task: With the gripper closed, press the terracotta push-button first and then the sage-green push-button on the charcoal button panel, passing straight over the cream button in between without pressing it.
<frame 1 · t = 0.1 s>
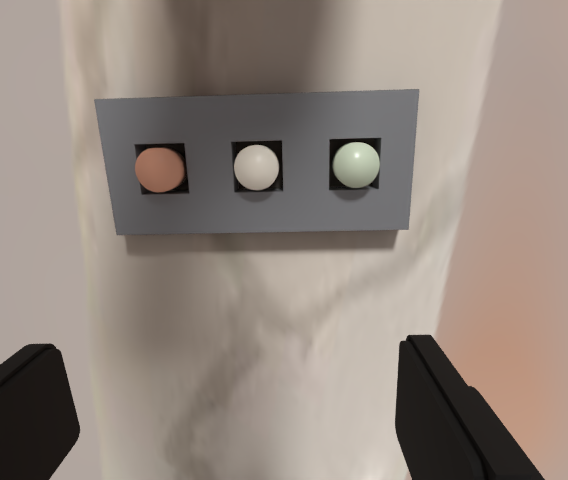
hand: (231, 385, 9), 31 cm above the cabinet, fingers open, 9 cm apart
cream button: (257, 167, 35), point 3 cm above the cabinet, slide at 0.0 cm
sage button: (354, 164, 35), point 3 cm above the cabinet, slide at 0.0 cm
terracotta button: (162, 169, 36), point 3 cm above the cabinet, slide at 0.0 cm
button panel: (260, 165, 38), on the cabinet
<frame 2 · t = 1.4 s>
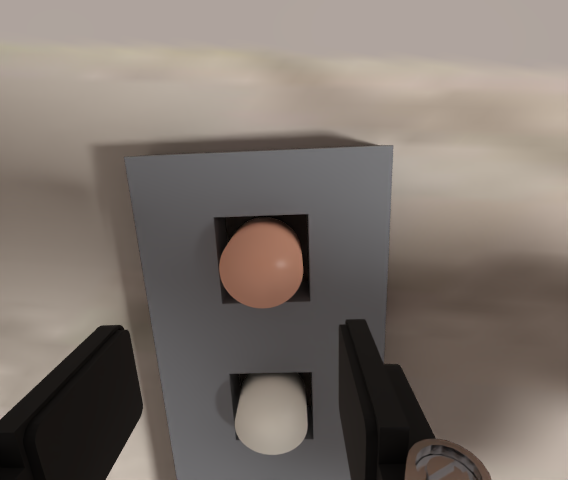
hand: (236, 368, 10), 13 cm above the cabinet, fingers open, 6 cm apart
cream button: (272, 407, 22), point 3 cm above the cabinet, slide at 0.0 cm
terracotta button: (263, 260, 19), point 3 cm above the cabinet, slide at 0.0 cm
button panel: (274, 376, 25), on the cabinet
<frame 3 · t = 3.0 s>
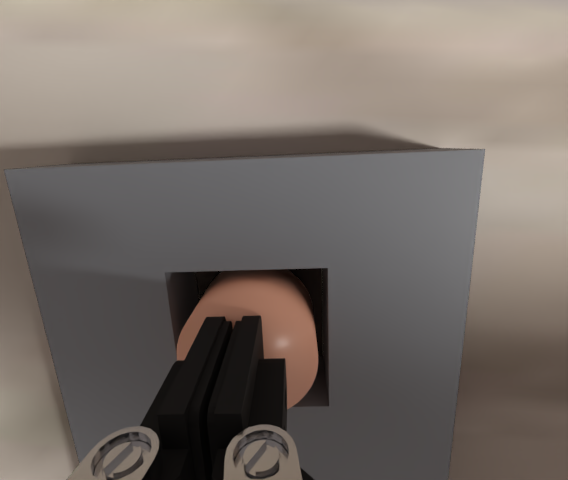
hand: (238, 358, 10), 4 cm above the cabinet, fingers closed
terracotta button: (252, 334, 12), point 2 cm above the cabinet, slide at 0.6 cm, touching gripper
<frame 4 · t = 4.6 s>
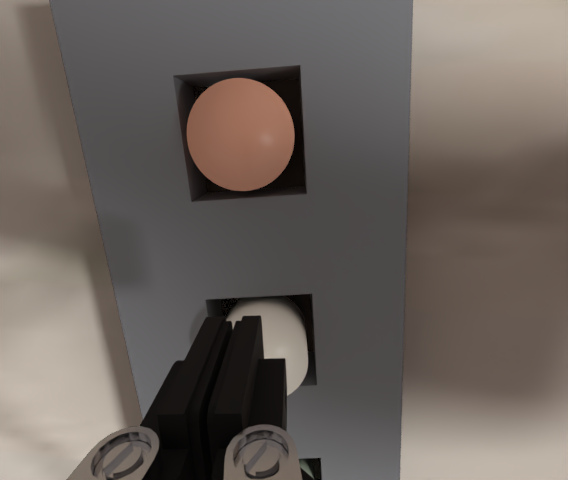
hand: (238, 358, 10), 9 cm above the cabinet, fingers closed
cream button: (263, 343, 17), point 3 cm above the cabinet, slide at 0.0 cm
terracotta button: (245, 137, 15), point 2 cm above the cabinet, slide at 0.8 cm
button panel: (267, 315, 20), on the cabinet
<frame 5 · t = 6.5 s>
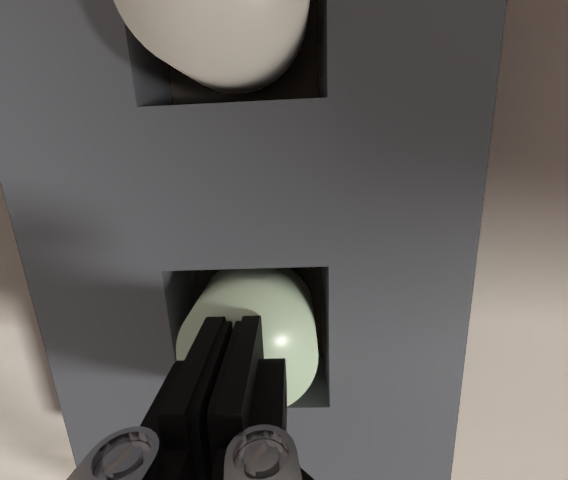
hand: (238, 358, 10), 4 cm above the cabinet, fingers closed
sage button: (252, 331, 12), point 2 cm above the cabinet, slide at 0.7 cm, touching gripper
button panel: (240, 29, 11), on the cabinet
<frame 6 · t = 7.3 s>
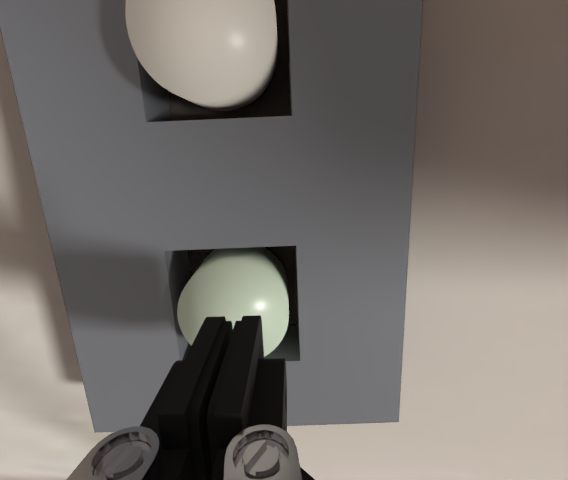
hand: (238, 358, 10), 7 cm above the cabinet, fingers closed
cream button: (211, 36, 11), point 3 cm above the cabinet, slide at 0.0 cm
sage button: (238, 299, 15), point 2 cm above the cabinet, slide at 0.8 cm
button panel: (226, 59, 14), on the cabinet
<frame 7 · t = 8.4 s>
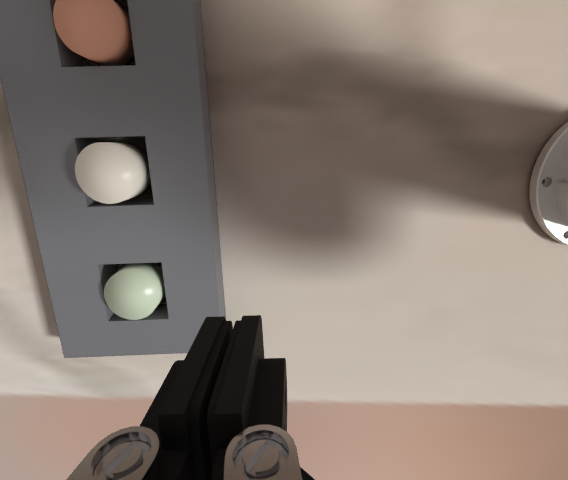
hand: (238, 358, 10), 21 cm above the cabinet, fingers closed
cream button: (115, 172, 26), point 3 cm above the cabinet, slide at 0.0 cm
sage button: (138, 288, 30), point 2 cm above the cabinet, slide at 0.8 cm
terracotta button: (98, 28, 24), point 2 cm above the cabinet, slide at 0.8 cm
button panel: (131, 169, 29), on the cabinet
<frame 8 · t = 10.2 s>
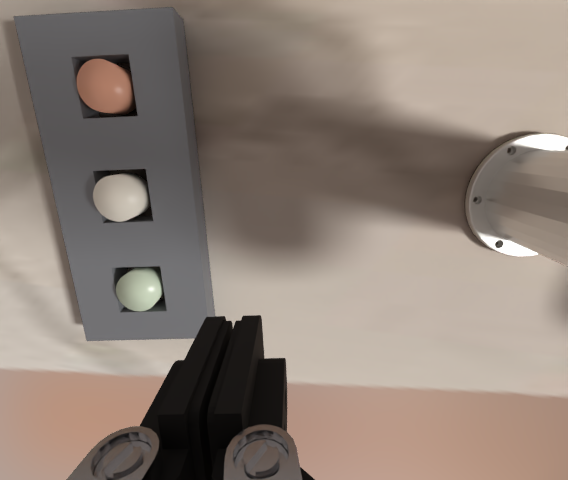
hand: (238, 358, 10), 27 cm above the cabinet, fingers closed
cream button: (123, 196, 34), point 3 cm above the cabinet, slide at 0.0 cm
sage button: (142, 286, 37), point 2 cm above the cabinet, slide at 0.8 cm
terracotta button: (109, 88, 32), point 2 cm above the cabinet, slide at 0.8 cm
button panel: (137, 192, 37), on the cabinet
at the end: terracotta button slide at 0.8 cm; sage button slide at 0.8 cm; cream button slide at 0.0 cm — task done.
